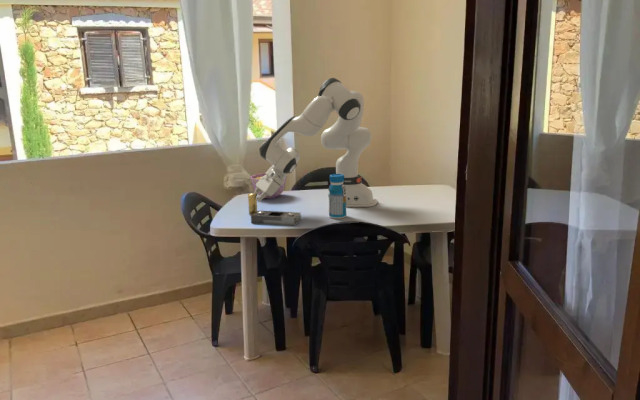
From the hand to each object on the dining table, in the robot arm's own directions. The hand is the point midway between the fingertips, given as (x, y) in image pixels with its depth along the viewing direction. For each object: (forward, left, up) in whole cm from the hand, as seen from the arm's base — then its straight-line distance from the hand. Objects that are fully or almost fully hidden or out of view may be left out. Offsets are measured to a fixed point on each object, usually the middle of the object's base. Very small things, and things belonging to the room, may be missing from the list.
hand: (255, 198), depth 252 cm
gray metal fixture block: (-14, +11, -8) cm, 19 cm away
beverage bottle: (-40, -2, -8) cm, 41 cm away
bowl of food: (+8, -35, -8) cm, 37 cm away
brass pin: (+2, +1, -8) cm, 8 cm away
